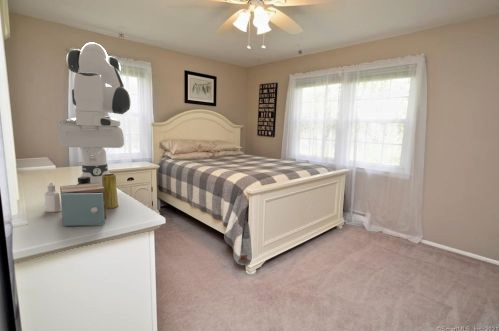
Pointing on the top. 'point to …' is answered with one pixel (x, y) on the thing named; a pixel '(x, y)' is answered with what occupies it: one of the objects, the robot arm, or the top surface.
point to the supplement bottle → (84, 180)
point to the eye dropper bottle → (52, 199)
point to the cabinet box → (85, 190)
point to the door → (82, 209)
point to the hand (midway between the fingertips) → (93, 160)
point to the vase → (110, 190)
